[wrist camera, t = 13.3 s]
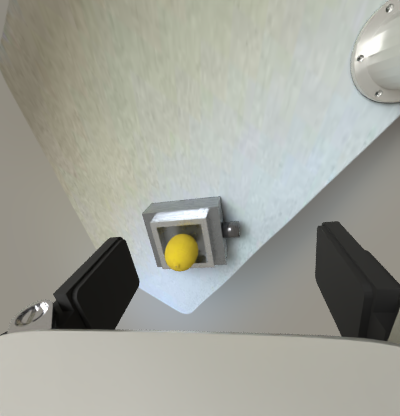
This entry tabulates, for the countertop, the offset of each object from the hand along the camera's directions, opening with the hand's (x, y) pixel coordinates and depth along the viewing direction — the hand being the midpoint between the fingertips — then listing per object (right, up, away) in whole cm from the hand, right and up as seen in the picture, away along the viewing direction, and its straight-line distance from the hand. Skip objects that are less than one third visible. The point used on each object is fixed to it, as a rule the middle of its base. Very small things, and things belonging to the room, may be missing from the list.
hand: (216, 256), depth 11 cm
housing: (-1, -1, +34) cm, 34 cm away
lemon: (-3, -3, +30) cm, 31 cm away
